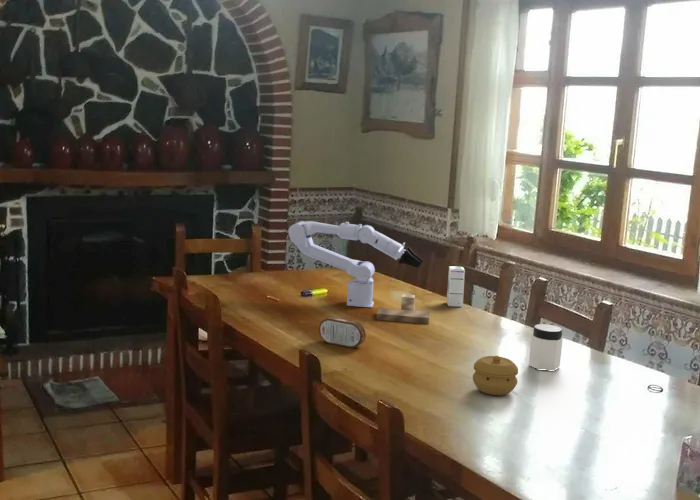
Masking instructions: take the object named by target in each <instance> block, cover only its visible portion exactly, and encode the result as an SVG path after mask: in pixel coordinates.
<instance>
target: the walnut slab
mask: <svg viewBox="0 0 700 500" xmlns="http://www.w3.org/2000/svg"><path fill="white" fill-rule="evenodd" d="M376 320H377V321H389V322H399V323H400V322H401V323H413V324H424V325H429V321H430V311H422V310H414V311H412V310H401V308H400V309H399V308H387V307H379V308H378V309H377V312H376Z"/></svg>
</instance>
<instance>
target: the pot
mask: <svg viewBox="0 0 700 500" xmlns="http://www.w3.org/2000/svg"><path fill="white" fill-rule="evenodd" d="M473 369H474V371H475V372H474V373H472V381H473V383H474V385H475V387H476V388H477V389H478V390H479V391H480V392H482V393H484V394H486V395H491V396H504V395H508V394H510V393H511V392H512V391H513V390H514V389H515V388H516V386H517V385H518V379H517V377H516V376H517V375H518V374H519V369H518V366H517V364H515V362H514V361H512V360H511V359H509V358H507V357H502V356H499V355H488V356H483V357H480V358H478V359H477V360H476V361H475V362H474V364H473Z"/></svg>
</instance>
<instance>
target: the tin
mask: <svg viewBox="0 0 700 500" xmlns="http://www.w3.org/2000/svg"><path fill="white" fill-rule="evenodd" d="M318 334H319V336H320V338H321V339H322V340H323V341H324V342H326V343H327V344H330V345H334V346H335V345H336V346H340V347H345V348H351V349H354V348H357V347H359V346H361V345H362V344H363V343H364V342H365V340H366V336H367V335H366V334H367V333H366V330H365V327H364V326H363V325H362V323H361V322H360V321H357V320H354V319H349V318H346V317H345V318H343V317H339V316H334V315H331V316H330V315H329V316H327V317H326V318H324V319H323V320H322V321H321V322H320V323H319V326H318Z"/></svg>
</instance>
